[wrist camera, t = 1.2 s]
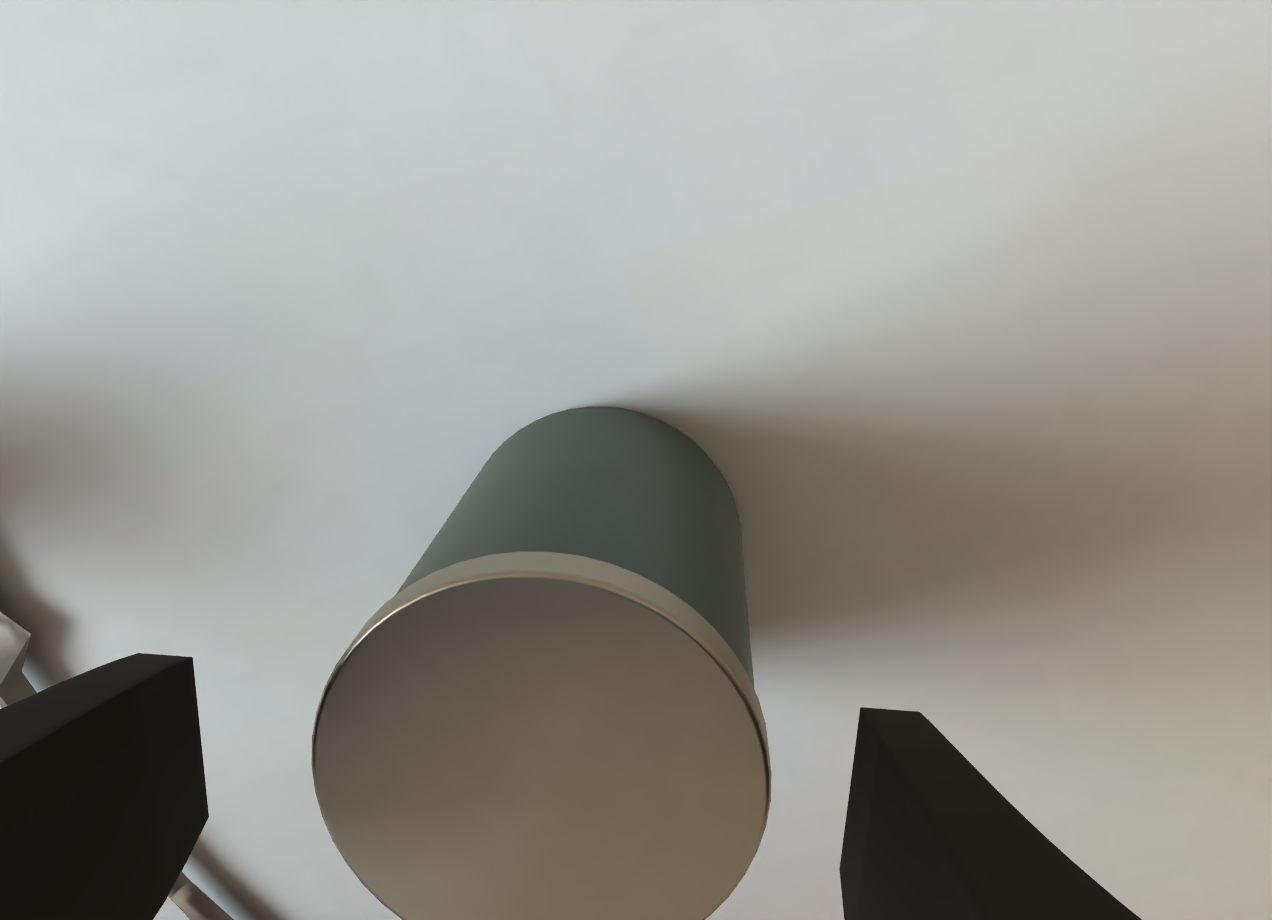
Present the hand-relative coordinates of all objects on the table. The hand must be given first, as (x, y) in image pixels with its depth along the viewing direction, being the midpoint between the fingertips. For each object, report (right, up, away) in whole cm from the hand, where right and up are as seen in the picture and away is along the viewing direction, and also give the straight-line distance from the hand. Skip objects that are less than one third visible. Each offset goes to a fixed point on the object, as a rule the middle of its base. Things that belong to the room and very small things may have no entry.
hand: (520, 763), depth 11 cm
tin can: (+1, +2, +7) cm, 7 cm away
